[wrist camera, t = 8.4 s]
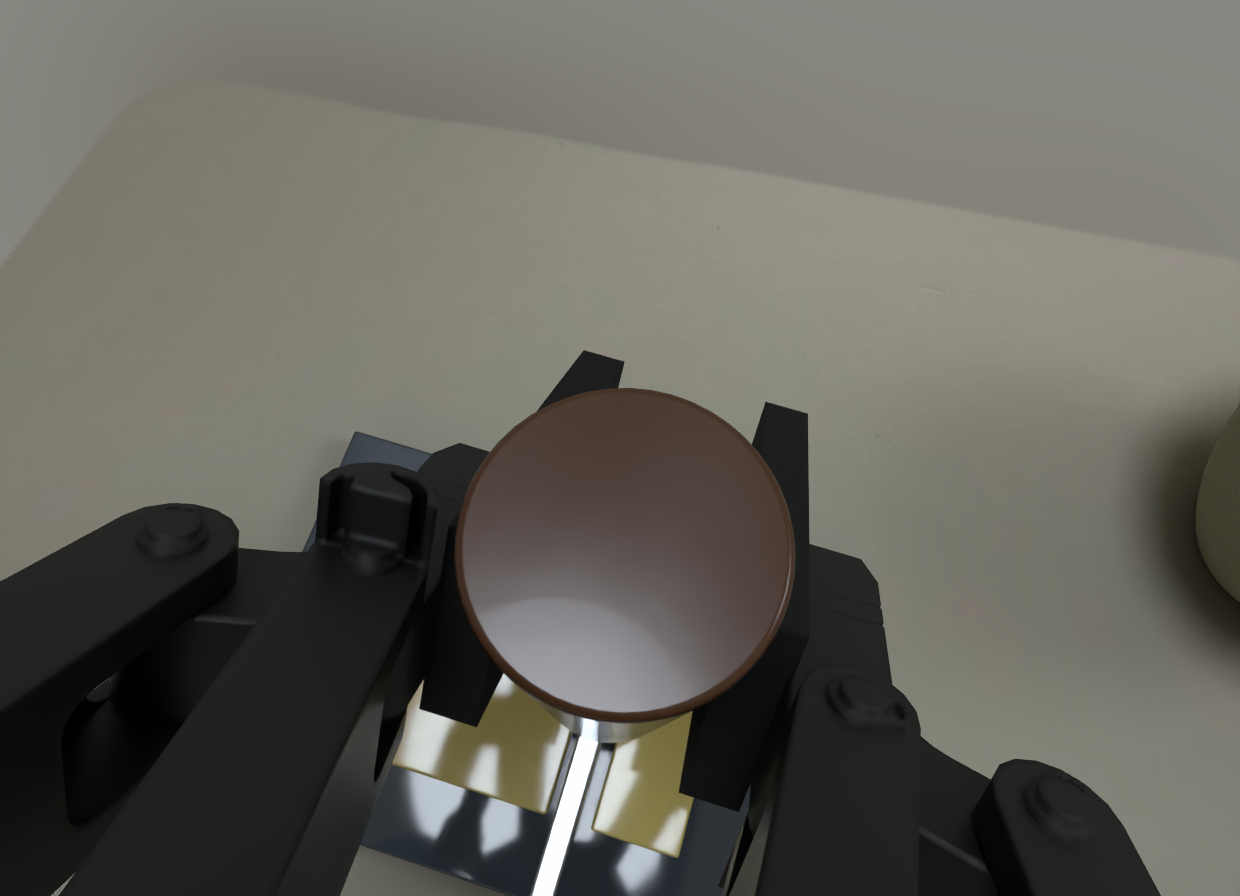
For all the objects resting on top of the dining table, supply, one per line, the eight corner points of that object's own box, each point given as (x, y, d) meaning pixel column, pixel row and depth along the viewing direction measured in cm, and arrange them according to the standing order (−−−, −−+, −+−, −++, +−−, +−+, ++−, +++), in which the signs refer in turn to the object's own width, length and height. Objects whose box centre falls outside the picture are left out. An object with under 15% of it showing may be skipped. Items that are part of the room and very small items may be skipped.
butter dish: (212, 788, 24) (95, 798, 19) (362, 440, 28) (302, 360, 22) (760, 974, 23) (811, 1043, 18) (843, 584, 27) (908, 538, 21)
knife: (509, 840, 21) (234, 1090, 5) (605, 537, 24) (615, 93, 8) (610, 874, 21) (642, 1239, 5) (696, 564, 24) (894, 166, 8)
